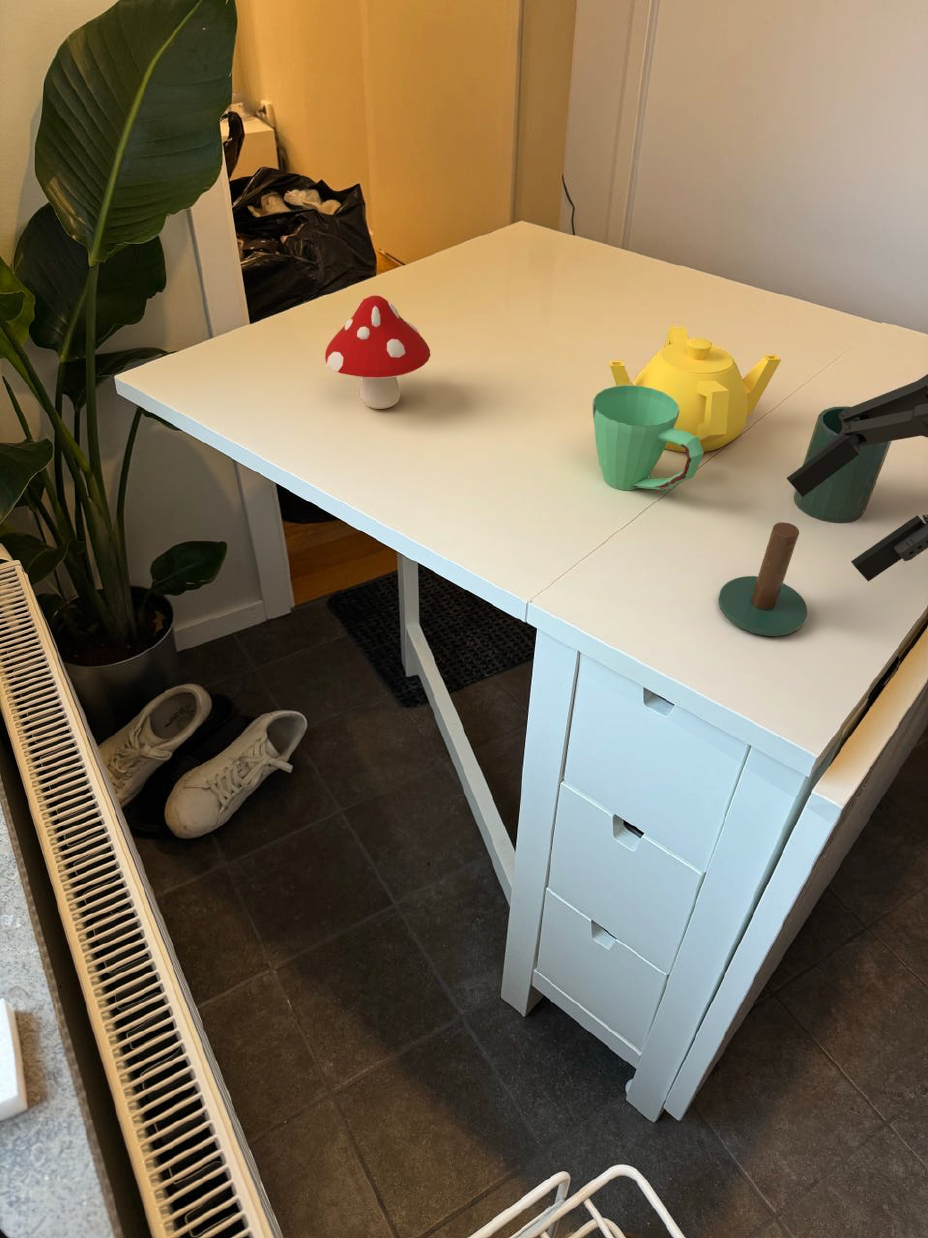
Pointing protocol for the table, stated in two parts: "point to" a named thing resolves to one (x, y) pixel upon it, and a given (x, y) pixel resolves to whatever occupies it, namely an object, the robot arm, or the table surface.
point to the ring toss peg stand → (767, 591)
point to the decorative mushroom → (377, 351)
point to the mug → (639, 437)
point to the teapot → (702, 387)
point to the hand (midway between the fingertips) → (824, 527)
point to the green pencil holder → (841, 475)
